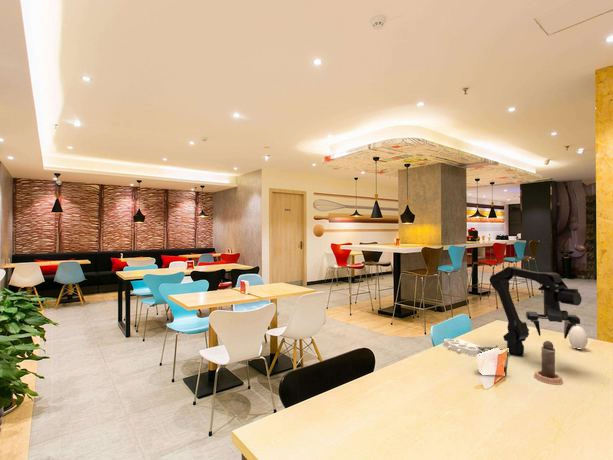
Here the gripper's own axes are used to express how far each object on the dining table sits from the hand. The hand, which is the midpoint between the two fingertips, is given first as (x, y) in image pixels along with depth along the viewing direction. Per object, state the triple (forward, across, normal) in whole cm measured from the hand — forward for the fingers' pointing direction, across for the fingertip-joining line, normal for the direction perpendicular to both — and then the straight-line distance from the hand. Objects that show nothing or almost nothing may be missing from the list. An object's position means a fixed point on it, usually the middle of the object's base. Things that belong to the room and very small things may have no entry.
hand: (552, 337), depth 148 cm
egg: (+13, +16, +33) cm, 39 cm away
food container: (+13, -25, -19) cm, 34 cm away
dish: (+13, -4, -16) cm, 21 cm away
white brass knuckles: (+13, -36, +6) cm, 39 cm away
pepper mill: (+13, -4, -15) cm, 21 cm away
